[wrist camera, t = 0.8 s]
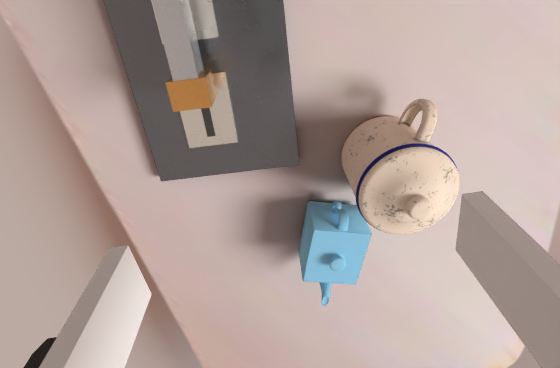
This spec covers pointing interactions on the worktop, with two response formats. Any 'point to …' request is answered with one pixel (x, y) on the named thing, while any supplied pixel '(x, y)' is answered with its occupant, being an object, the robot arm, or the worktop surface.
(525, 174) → the worktop surface
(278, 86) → the plate
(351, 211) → the teapot
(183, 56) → the grey bar
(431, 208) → the teacup with lid
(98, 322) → the robot arm
